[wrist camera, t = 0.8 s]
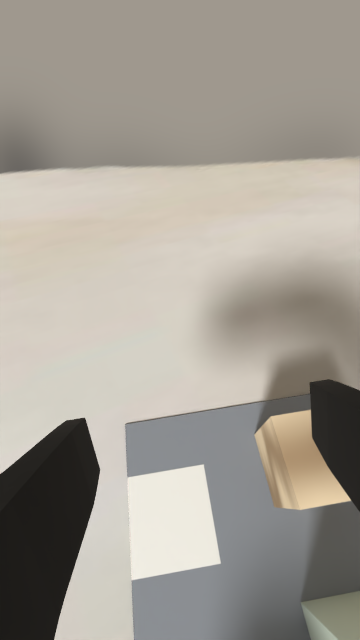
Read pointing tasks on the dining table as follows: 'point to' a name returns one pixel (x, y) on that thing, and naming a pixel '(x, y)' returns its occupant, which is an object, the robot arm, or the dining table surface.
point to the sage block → (333, 617)
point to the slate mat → (226, 532)
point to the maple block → (296, 464)
